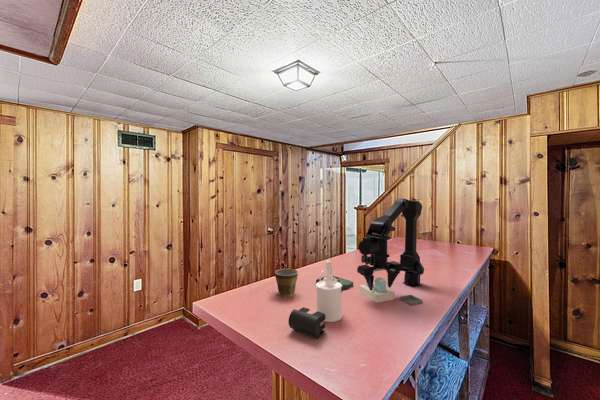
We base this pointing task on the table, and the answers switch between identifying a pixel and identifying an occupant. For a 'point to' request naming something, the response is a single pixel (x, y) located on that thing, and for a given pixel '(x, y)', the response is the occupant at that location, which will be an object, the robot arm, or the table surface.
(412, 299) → the holster
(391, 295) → the port block
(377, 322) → the table surface
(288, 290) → the olive plant pot
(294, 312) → the end cap
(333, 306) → the white pump bottle
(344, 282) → the disk drive
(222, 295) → the table surface
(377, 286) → the plug
